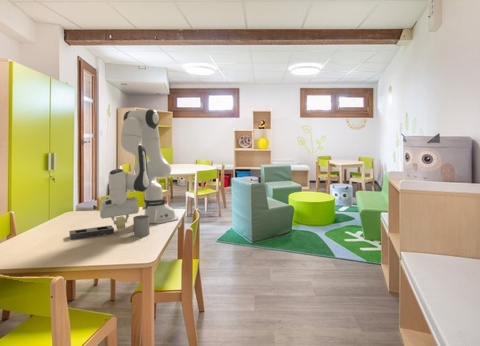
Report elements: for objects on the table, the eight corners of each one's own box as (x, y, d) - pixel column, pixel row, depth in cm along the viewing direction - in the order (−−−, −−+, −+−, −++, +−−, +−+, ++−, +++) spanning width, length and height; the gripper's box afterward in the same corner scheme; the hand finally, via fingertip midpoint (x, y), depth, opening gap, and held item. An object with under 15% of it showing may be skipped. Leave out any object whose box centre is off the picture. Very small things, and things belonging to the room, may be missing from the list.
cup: (151, 232, 194) (150, 215, 193) (147, 236, 186) (147, 218, 185) (136, 232, 194) (135, 215, 193) (132, 236, 185) (131, 218, 184)
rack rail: (111, 230, 199) (111, 225, 198) (114, 233, 192) (113, 228, 191) (69, 236, 188) (69, 230, 187) (70, 240, 181) (70, 234, 180)
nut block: (123, 226, 192) (123, 216, 191) (125, 228, 188) (124, 217, 187) (116, 227, 190) (115, 217, 189) (117, 229, 186) (117, 219, 185)
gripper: (136, 195, 195) (138, 218, 197) (98, 200, 184) (100, 225, 186) (139, 197, 189) (140, 221, 191) (99, 202, 179) (102, 228, 181)
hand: (120, 223), depth 189 cm, fingers closed on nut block, 4 cm apart
